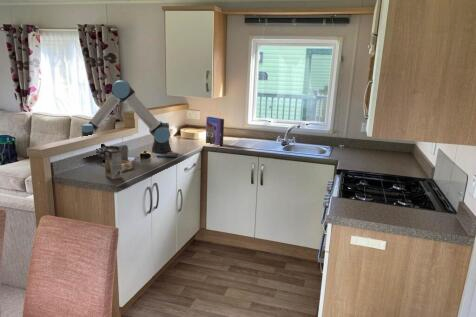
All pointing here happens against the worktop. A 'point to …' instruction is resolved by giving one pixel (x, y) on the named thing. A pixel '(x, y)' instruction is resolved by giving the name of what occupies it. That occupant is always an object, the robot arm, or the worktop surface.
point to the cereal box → (214, 130)
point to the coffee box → (113, 163)
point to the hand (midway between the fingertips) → (120, 152)
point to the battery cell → (124, 152)
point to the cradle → (126, 165)
